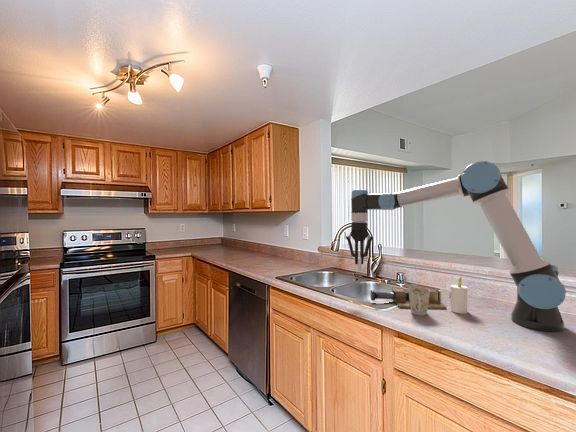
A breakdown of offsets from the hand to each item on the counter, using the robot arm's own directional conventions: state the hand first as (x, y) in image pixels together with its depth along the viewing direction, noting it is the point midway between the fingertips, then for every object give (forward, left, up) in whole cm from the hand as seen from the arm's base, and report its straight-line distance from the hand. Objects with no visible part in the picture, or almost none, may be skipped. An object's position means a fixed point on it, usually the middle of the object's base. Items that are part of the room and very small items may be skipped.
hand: (359, 270), depth 138 cm
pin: (0, -17, -14) cm, 22 cm away
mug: (-18, -22, -15) cm, 32 cm away
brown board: (0, -26, -14) cm, 30 cm away
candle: (-12, -40, -15) cm, 44 cm away
